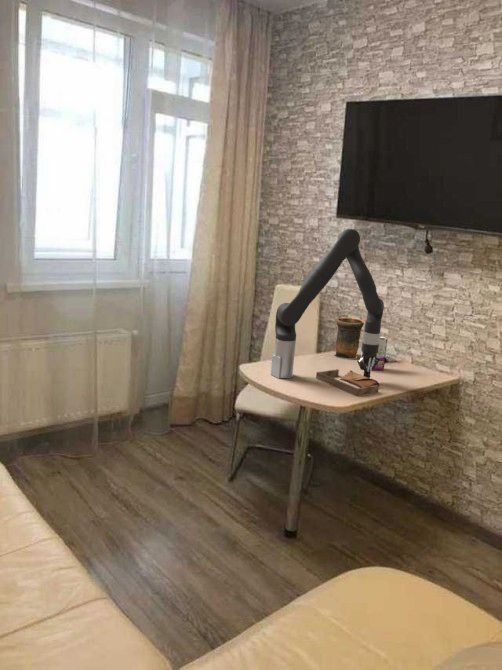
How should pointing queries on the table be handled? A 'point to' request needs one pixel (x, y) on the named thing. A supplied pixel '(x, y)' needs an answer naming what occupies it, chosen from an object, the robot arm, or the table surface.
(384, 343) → the candy bar box
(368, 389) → the tray
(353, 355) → the vessel
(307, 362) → the table surface
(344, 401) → the table surface
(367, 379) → the sunglasses case
